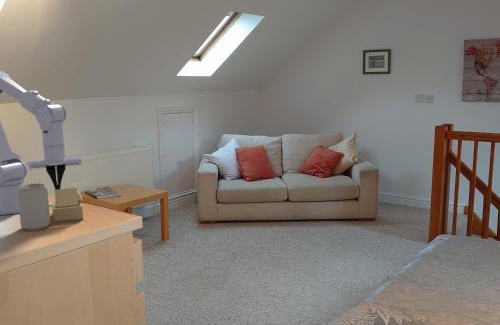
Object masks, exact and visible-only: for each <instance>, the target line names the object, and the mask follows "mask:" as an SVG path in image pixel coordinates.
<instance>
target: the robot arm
mask: <svg viewBox="0 0 500 325" xmlns="http://www.w3.org/2000/svg"><path fill="white" fill-rule="evenodd" d="M3 93H6V94H7V95H9V96H12V97H13V98H14V99H16V100H18V101H19V104H20V107H22V108H23V109H24V110H26V111H28V112H29V113H31V114H32V115H34V116H35V119H36V121H37V122H38V123H39V129H40V130H41V135H42V145H43V155H44V158H43V159H41V160H32V161H28V162H27V163H28V165H27V166H28V169H29V170H30V169H31V170H32V169H40V168H45V171H46V173H47V174H48V176H49V178H50V179H51V182H52V184H53V186H54V191H55V190H58V189H61V187H62V186H61V184H62V181H63V176H64V175H65V174H64V173H65V171H66V167H67V166H70V167H71V166H82V157H73V158H72V157H71V158H70V157H67V158H66V150H65V137H64V136H65V135H64V127H63V125H64V124H63V123H64V121H66V117H67V111H66V108H65V107H64V106H63V105H62V104H61V103H58V102H57V103H56V102H55V103H53V102H51V100H50V99H49V98H45V97H43V96H42V95H40V93H39V92H38V91H37V90H26V89H25V88H24V87H22V86H21V85H19V84H18V83H16V82H15V81H14V80H13V79H11V78H10V75H9V74H8V73H6V72H4V71H3V70H0V96H1V95H2V94H3ZM27 166H26V163H24V161H23V160H22V157H21V155H19V154H18V153H16V152H14V151H12V149H11V146H10V144H9V141H8V137H7V135H6V132H5V129H4V128H3V124H2V121H1V120H0V216H2V215H13V214H20V213H19V203H18V192H19V190H20V188H19V187H20V186H23V182H25V178H26V177H27V175H28V169H27Z"/></svg>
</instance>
